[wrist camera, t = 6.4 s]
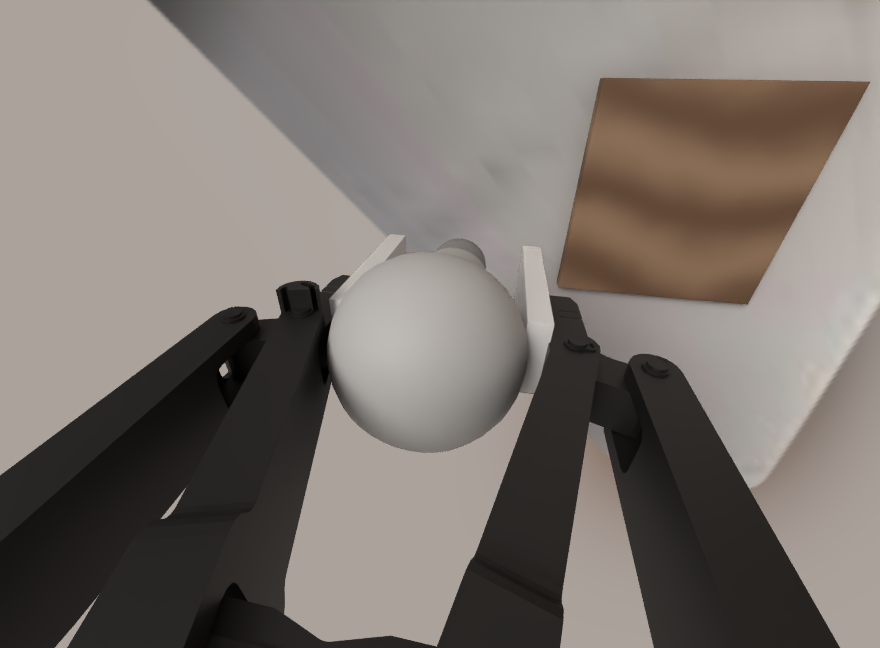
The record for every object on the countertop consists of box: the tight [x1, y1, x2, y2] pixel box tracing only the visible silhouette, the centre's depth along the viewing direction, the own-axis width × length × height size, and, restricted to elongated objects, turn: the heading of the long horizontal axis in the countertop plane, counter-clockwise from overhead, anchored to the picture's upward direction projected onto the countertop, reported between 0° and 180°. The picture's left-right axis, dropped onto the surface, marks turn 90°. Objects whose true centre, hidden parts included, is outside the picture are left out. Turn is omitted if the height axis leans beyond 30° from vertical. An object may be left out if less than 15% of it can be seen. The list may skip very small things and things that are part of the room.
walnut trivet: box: [557, 78, 870, 304], centre depth 28 cm, size 16×16×1 cm
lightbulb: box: [327, 239, 528, 453], centre depth 13 cm, size 6×6×11 cm
